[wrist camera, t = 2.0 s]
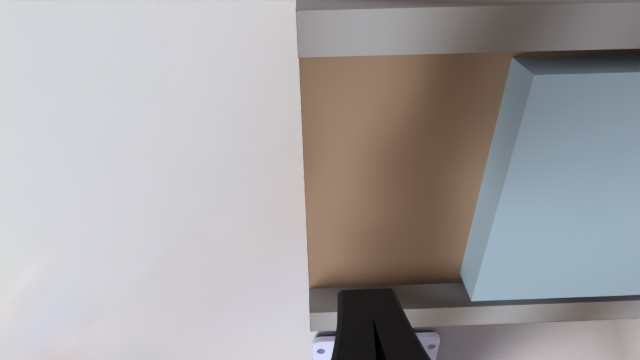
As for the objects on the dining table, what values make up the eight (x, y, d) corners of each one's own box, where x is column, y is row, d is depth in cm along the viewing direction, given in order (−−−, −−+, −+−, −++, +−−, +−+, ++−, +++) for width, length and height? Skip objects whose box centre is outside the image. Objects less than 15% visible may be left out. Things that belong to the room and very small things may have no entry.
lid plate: (459, 273, 18) (471, 301, 17) (512, 57, 13) (534, 75, 12) (688, 264, 18) (715, 291, 17) (831, 49, 13) (886, 65, 12)
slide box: (308, 245, 22) (310, 331, 18) (297, -25, 15) (295, 10, 11) (716, 231, 23) (814, 311, 19) (898, -38, 16) (1131, -10, 11)
